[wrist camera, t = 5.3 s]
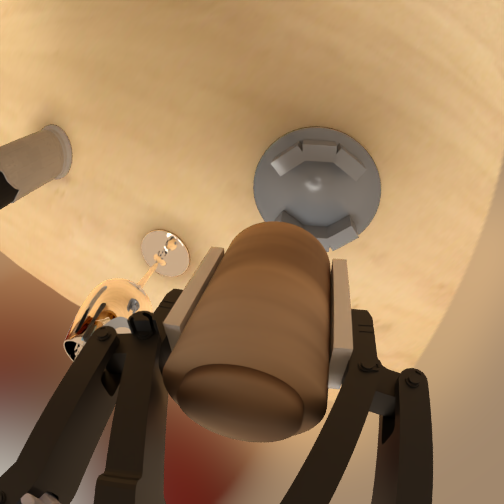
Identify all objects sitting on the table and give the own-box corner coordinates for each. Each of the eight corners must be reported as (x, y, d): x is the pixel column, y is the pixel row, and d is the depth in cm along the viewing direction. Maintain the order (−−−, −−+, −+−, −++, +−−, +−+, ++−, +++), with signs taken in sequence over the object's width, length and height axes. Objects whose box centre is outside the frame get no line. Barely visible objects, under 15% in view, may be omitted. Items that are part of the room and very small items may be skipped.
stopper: (223, 217, 17) (136, 342, 9) (336, 226, 16) (343, 377, 8) (228, 304, 20) (174, 431, 12) (323, 315, 19) (311, 456, 11)
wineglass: (149, 218, 39) (53, 317, 22) (199, 247, 40) (124, 365, 23) (135, 258, 43) (56, 355, 26) (180, 285, 44) (115, 394, 27)
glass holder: (80, 161, 36) (1, 205, 24) (38, 202, 42) (-24, 246, 29) (55, 113, 33) (-27, 142, 20) (17, 161, 39) (-48, 197, 26)
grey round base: (252, 125, 30) (245, 129, 27) (385, 132, 28) (393, 138, 25) (256, 240, 37) (250, 256, 34) (370, 249, 35) (374, 265, 32)
